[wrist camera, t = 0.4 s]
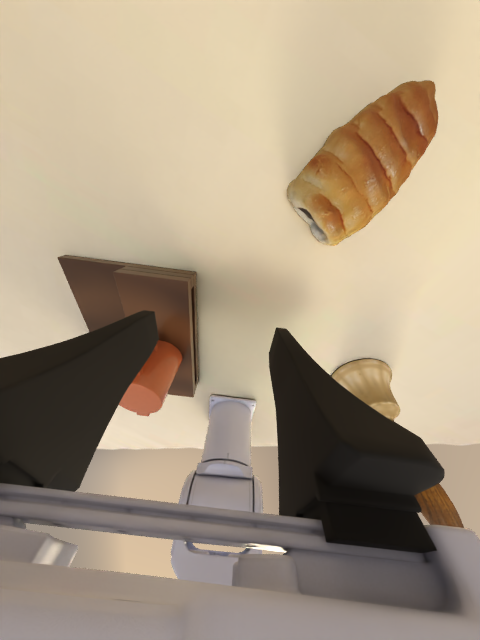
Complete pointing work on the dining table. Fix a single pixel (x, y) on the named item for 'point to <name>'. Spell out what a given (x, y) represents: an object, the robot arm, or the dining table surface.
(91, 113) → the dining table surface
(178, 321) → the step shelf
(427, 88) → the pastry
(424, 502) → the hand bell
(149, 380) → the jug
